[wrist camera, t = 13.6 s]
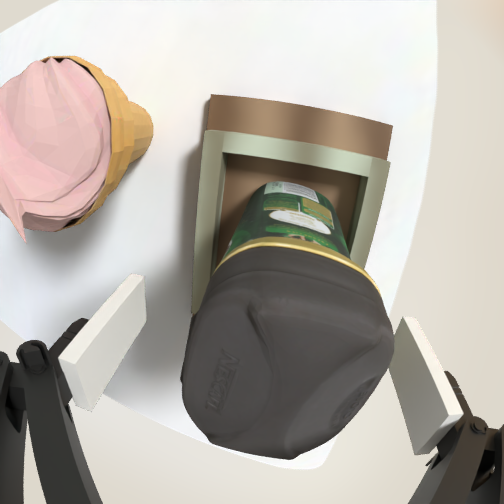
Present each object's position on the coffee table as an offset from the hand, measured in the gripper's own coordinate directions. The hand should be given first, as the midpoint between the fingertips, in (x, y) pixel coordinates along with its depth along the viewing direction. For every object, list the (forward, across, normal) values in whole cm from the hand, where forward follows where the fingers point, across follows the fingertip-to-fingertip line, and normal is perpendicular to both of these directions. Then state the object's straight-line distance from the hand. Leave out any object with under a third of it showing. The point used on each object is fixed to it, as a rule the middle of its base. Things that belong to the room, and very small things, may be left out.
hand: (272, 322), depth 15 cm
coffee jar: (+13, +1, 0) cm, 13 cm away
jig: (+14, 0, 0) cm, 14 cm away
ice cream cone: (+14, -14, +7) cm, 22 cm away
